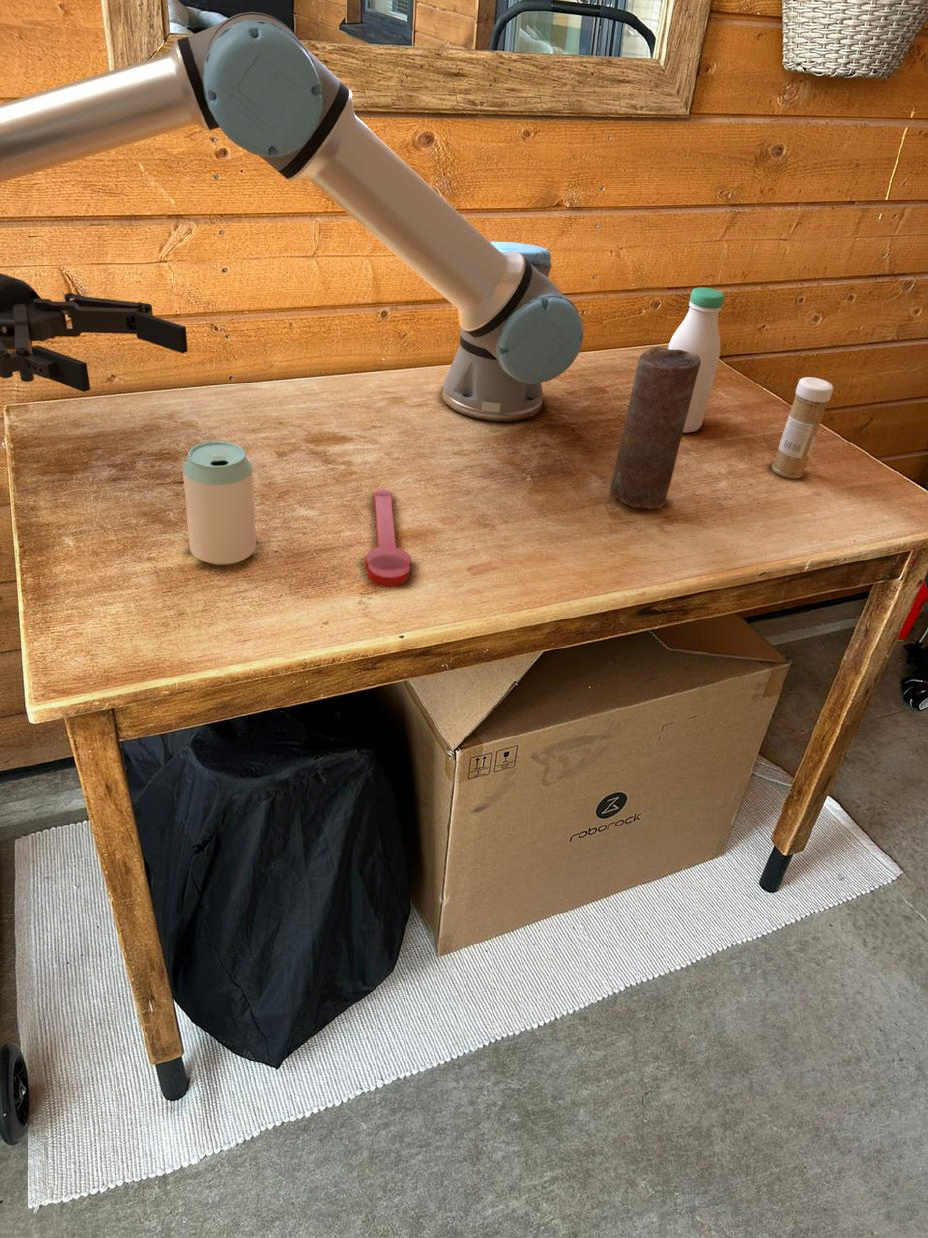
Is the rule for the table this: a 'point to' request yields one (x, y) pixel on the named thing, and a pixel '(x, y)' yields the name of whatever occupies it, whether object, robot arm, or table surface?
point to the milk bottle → (700, 348)
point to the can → (219, 503)
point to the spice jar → (802, 427)
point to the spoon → (386, 547)
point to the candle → (654, 426)
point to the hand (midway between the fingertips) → (137, 357)
